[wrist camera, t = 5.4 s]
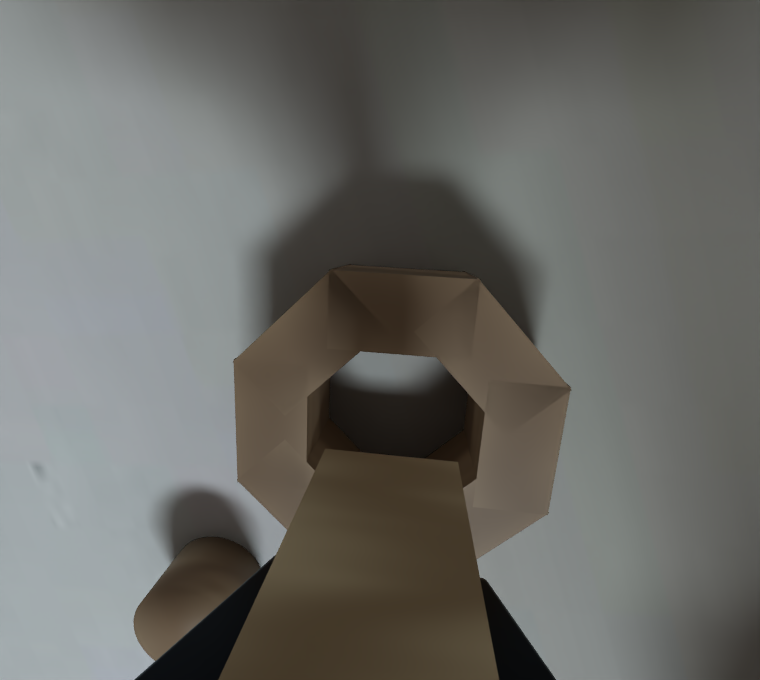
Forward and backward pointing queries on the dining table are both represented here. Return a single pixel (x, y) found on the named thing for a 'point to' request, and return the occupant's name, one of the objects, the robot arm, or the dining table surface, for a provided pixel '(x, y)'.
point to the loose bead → (190, 591)
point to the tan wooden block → (371, 580)
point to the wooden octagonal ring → (406, 337)
